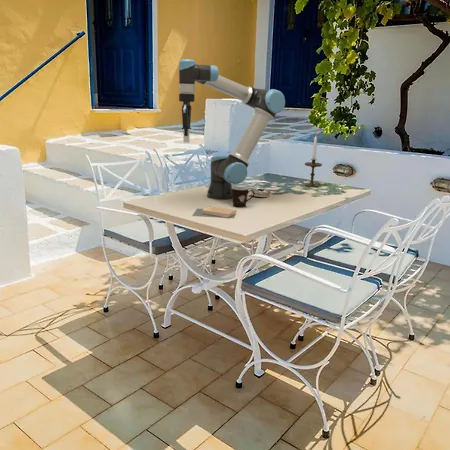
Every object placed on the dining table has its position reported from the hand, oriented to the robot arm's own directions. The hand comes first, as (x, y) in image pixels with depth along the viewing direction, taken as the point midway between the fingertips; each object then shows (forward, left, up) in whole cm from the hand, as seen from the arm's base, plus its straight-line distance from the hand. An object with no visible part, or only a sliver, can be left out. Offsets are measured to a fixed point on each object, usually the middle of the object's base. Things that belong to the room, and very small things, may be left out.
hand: (186, 142), depth 233 cm
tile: (+13, +13, -31) cm, 36 cm away
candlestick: (-71, +69, -33) cm, 104 cm away
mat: (+14, +17, -32) cm, 39 cm away
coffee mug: (-3, +29, -33) cm, 44 cm away
